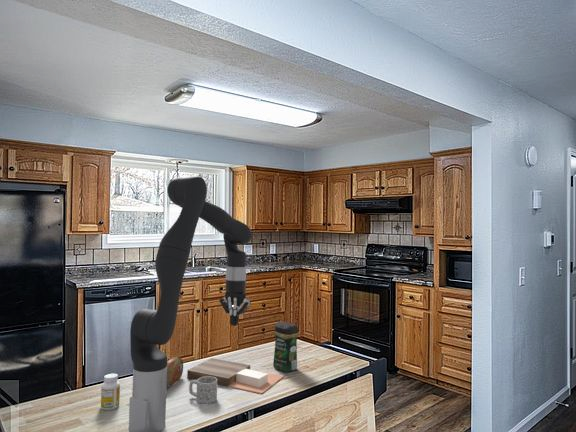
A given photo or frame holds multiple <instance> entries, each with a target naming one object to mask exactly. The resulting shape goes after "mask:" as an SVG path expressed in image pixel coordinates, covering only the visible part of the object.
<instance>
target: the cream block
mask: <svg viewBox="0 0 576 432" xmlns="http://www.w3.org/2000/svg"><path fill="white" fill-rule="evenodd" d="M258 371H259V370H253V369H251V368H250V369H244V370H242V371H240V372H238V373H236V382H240V383H244V384H248V385H252V386H256V387H260V386H262V385H264V384H265V383H267V382H268V374H267V373H268V372H264V373H262V372H263V371H259V372H258Z"/></svg>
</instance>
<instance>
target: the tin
mask: <svg viewBox="0 0 576 432" xmlns="http://www.w3.org/2000/svg"><path fill="white" fill-rule="evenodd" d="M183 373H184V362H183V358H182V357H180V356H178V357H177V356H176V357H175V356H174V357H171V358H170V359H169V360H168V359H167V386H166V389H170V388H172V387H173V386H174V385H175V384H176V383H177V382H179V381H180V380H181V378H182V376H183Z"/></svg>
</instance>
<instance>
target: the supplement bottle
mask: <svg viewBox="0 0 576 432" xmlns="http://www.w3.org/2000/svg"><path fill="white" fill-rule="evenodd" d="M118 379H119V374H117V373H109V374H106V375H104V376H103V383H102V384H101V385H100V386H101V389H100V392H101V393H100V408H101V409H102V410H104V411H110V410H115V409H117V408H119V407H120V397H121V396H120V395H121V394H120V393H121V392H120V391H121V382H120V381H118Z"/></svg>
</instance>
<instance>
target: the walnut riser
mask: <svg viewBox="0 0 576 432" xmlns="http://www.w3.org/2000/svg"><path fill="white" fill-rule="evenodd" d="M244 369H250V370H251V364H247V363H246V364H245V363H240V362H235V361H230V360H224V359H219V358H213V357H211V358H209V359H207V360H204V361H203V362H201V363H198V364H197V365H194V366H193V367H191V368H189V369H187V371H186V376H187V377H186V379H190V380H197V379H198V378H201V377H206V376H211V377H215V378H217V386H223V387H226V388H229V387H228V386H229V385H230V384H232V383H233V382H235V381H236V373H238V372H240V371H242V370H244Z"/></svg>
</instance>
